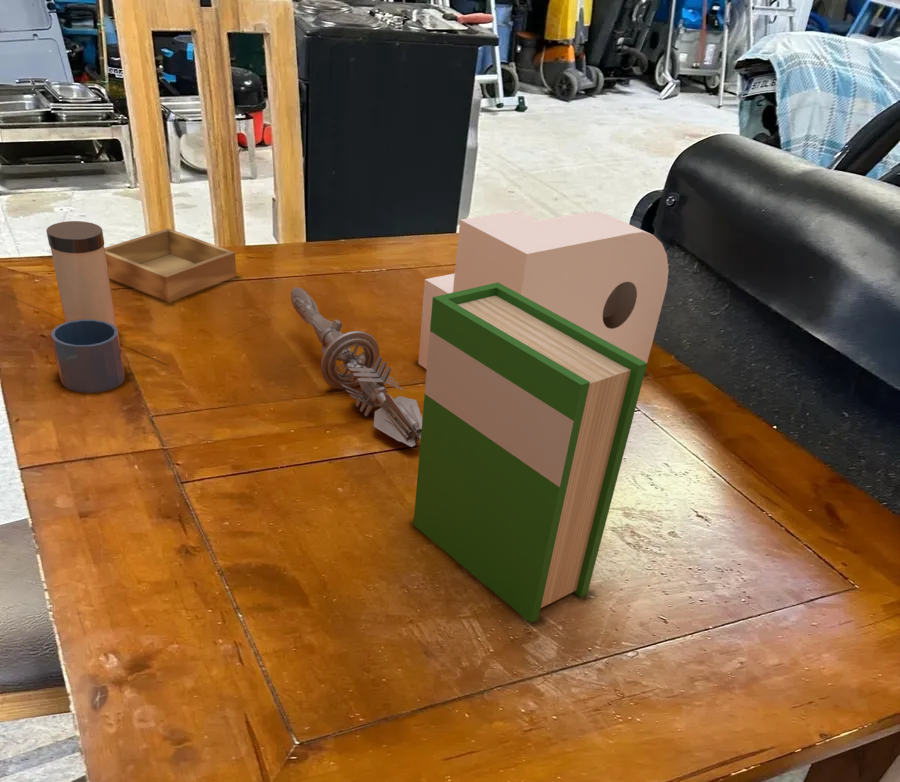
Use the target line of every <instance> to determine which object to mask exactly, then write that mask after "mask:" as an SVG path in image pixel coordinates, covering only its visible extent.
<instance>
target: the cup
mask: <svg viewBox="0 0 900 782" xmlns="http://www.w3.org/2000/svg"><path fill="white" fill-rule="evenodd" d="M50 337H51V338H50V339H51V342H52V347H53V353H54V357H55V362H56V366H57V373H58V376H59V380H60V382H61V384H62V385H63V386H64V387H65V388H66V389H68V390H70V391H74V392H77V393H87V394H88V393H89V394H90V393H91V394H92V393H102V392H106V391H110V390H113V389H115V388H117V387H119V386H120V385H121V384H122V383H124V381H125V378H126V377H125V367H124V359H123V353H122V347H121V340H120V334H119V329H118V327H117V328H116V327H115V326H114V325H112V324H110V323H108V322H105V321H100V320H93V319H81V320H74V321H69V322H66V323H65V322H63V323H61V324H58V325H57V326H56V327H54V328H53V329H52V330H51V334H50Z"/></svg>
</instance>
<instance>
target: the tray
mask: <svg viewBox="0 0 900 782" xmlns="http://www.w3.org/2000/svg"><path fill="white" fill-rule="evenodd" d="M104 249H105V256H106V262H107V268H108V275H109V280H113V281H115V282H117V283H120V284H122V285H125V286H128V287H130V288H132V289H134V290H137V291H140V292H143V293H145V294H147V295H149V296H151V297H155V298H157V299H160V300H162V301H165V302H167V303H171V302H173V301H176V300H178V299H181V298H183V297H186V296H189V295H192V294H194V293H197V292H200V291H202V290H205V289H207V288H210V287H212V286H215V285H218V284H220V283H223V282H225V281H228V280H231V279H233V278H235V277H237V264H236V252H235V251H232V250H230V249H226V248H224V247H221V246H219V245H215V244H212V243H210V242H207V241H205V240H202V239H199V238H197V237H193V236H191V235H188V234H186V233H183V232H180V231H177V230H175V229H171V228H169V227H168V228H164V229H161V230H158V231H155V232H152V233H148V234H145V235H142V236H138V237H135V238H132V239H129V240H126V241H122V242H119V243H116V244H113V245H109V246H107V247H104Z"/></svg>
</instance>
